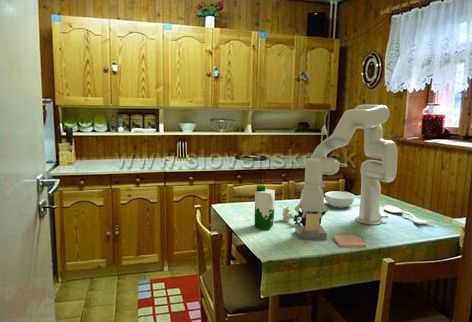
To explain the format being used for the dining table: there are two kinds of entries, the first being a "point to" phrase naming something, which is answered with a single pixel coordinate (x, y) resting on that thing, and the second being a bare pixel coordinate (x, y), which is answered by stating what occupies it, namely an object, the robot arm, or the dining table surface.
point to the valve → (290, 216)
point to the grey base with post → (310, 233)
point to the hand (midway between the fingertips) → (310, 224)
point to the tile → (349, 241)
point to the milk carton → (264, 208)
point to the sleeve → (312, 221)
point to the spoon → (397, 210)
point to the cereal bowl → (339, 199)
